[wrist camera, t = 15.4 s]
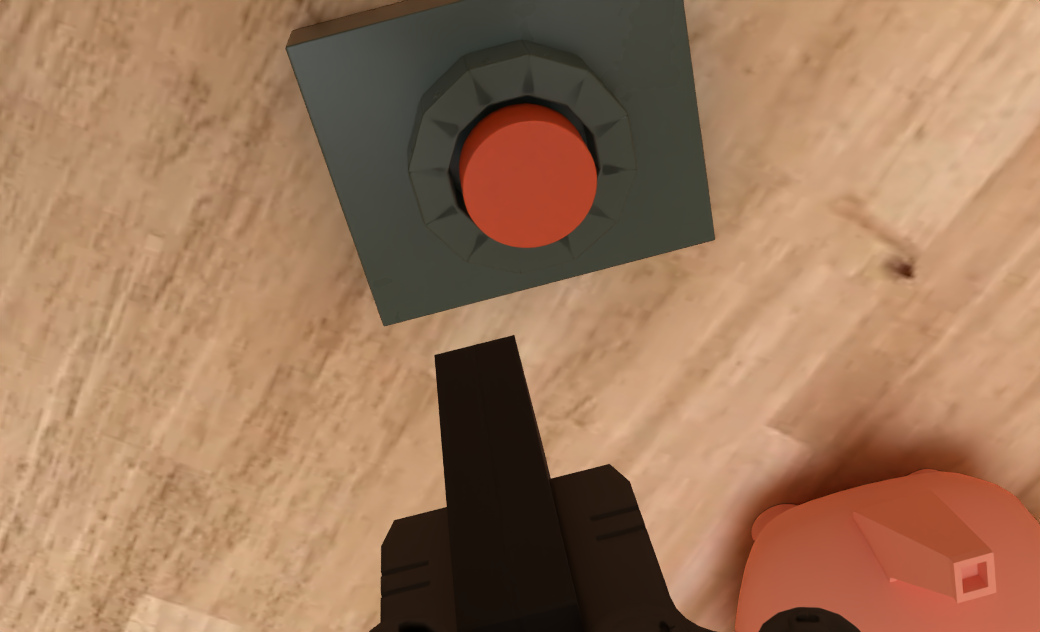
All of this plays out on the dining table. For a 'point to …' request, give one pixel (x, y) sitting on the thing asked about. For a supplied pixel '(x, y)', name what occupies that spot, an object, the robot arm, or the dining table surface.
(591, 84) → the button block
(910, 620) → the teapot
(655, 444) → the dining table surface
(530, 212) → the button
